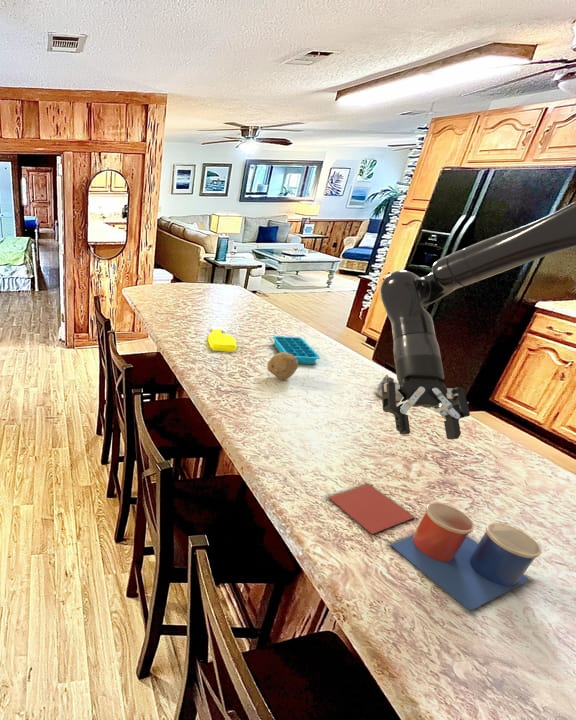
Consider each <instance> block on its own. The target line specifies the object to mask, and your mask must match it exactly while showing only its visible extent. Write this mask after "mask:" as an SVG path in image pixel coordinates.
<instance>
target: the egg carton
mask: <svg viewBox="0 0 576 720" xmlns="http://www.w3.org/2000/svg"><path fill="white" fill-rule="evenodd" d="M391 381H392V382H394V383H395V384H399V382H398V381H395V379H394V378H393V377H392V376H389V374H385V376H384V377H383V379H381V381H380V382H379V383H378V386H377V392H376V396H377V395H378V397H381V398H382V385H384V384H386V383H388V382H391ZM402 398H403V396H402V395H401V394H400V393H399V392H398V391H397V393H396V402H400V401H401V399H402Z"/></svg>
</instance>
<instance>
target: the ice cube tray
mask: <svg viewBox="0 0 576 720" xmlns="http://www.w3.org/2000/svg"><path fill="white" fill-rule="evenodd" d="M272 339H273V340H274V343H273V345H274V347H275V348H276V350H278V353H280V352H287V353H290V354H292V355H293V356H294V357H295V358H296V359H297V361H298V365H299V364H300V365H301V364H302V365H315V364H316V362H317V360H319V359H320V358H321V356H320V354H318V353H317V352H316V351H315V350H314V349H313V348H312V347H311V346H310V345H309V344H308V342H306V340H305V339H304V338H303V337H299V336H277V335H275V336H272Z"/></svg>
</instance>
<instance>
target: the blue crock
mask: <svg viewBox="0 0 576 720" xmlns="http://www.w3.org/2000/svg"><path fill="white" fill-rule="evenodd" d="M477 543H478V545H477V547H476V548H475V550H474V551H473V553H472V555H471V556H470V559H469V560H470V563H471V565H472V567H473V568H474V569H475V570H476V571H477V572H478V573H479V574H481V575H482V576H483V577H485V578H486V579H488V580H490V581H492V582H494V583H496V584H499V585H503V586H514V585H516V583H517V582H518V581H519V579H520V578H521V577H522V575H525V572H526V571H527V570H528V569H529V567H530V566H531V564H532V563H533V562H534V560H536V558H539V557H540V556H541V554H542V552H543V551H542V547H541V546H540V544H539V543H538V542H537V541H536V540H535V539H534V538H533V537H531V536H530V535H529V534H528V533H526V532H524V531H523V530H521V529H519V528H516V527H515V526H512V525H509V524H506V523H501V522H490V523H489V524H487V526H486V527H485V532H484V534H483V536H481V538H480V540H479V542H477Z"/></svg>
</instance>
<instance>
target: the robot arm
mask: <svg viewBox="0 0 576 720" xmlns="http://www.w3.org/2000/svg"><path fill="white" fill-rule="evenodd" d="M572 248H573V249H574V248H576V201H574V202H572V203H570V204H568V205H566V206H565V207H563V208H561V209H559V210H557V211H555V212H554V213H551V214H549V215H546V216H544V217H542V218H540V219H538V220H536V221H533V222H531V223H528V224H526V225H522V226H520V227H518V228H515V229H512V230H510V231H507V232H503V233H501V234H497V235H495V236H492V237H489V238H486V239H483V240H481V241H478V242H476V243H474V244H471V245H469V246H467V247H464V248H462V249H460V250H457V251H455V252H453V253H450V254H448V255H446V256H443V257H441V258H439V259H437V260H436V261H435V262H434V263H433V264H432V267H431V272H430V273H429V274H427V275H425V276H424V275H423V276H419V275H417V274H416V273H414V272H411V271H409V270H404V269H403V270H395V271H393V272H391V273H389V274H388V275H386V276H385V278H384V279H383V281H382V283H381V285H380V293H379V294H380V299H381V302H382V305H383V307H384V310H385V312H386V315H387V317H388V319H389V321H390V324H391V332H392V340H393V349H392V351H393V360H394V366H395V373H396V380H397V383H398V382H399V384H395V383H394V382H395V381H394V382H392V381H391V382H388V383H386V384H384V385H382V397H381V399H382V401H381V402H382V411H383V412H384V413H389V414H392V415H393V417H394V422H395V430H396V431H397V432H398V433H399V435H401V436H402V435H403V436H405V435H409V434H410V433H411V427H410V420H409V414H407V413H408V411H409V410H410V409H411V408H412V407H413V408H418V407H422V408H425V409H432V410H433V411H434V412H436V413H438V414H439V415H440V416H441V417H442V418H443V419H444V421H443V423H444V430H445V436H446V439H447V440H458V439H459V438H460V437H461V436H462V435H461V434H462V431H461V425H460V419H463V418H467V417H470V415H471V412H470V409H469V406H468V401H467V397H466V393H465V390H464V388H463V387H462V386H458V387H455V388H454V387H453V388H451V387H449V388H448V387H447V386H446V385H445V384H444V380H445V374H444V367H443V361H442V357H441V356H442V355H441V350H440V345H439V342H438V340H437V336H436V335H437V334H436V330H435V325H434V320H433V317H432V315H431V314H430V312H428V311H427V310H426V309H425V308H424V307H427V306H429V305H432V304H433V303H435V302H437V301H439V300H441V299H443V298H444V297H446V296H448V295H449V294H451V293H453V292H454V291H455V290H458V289H460V288H463V287H466V286H469V285H471V284H474V283H477V282H480V281H482V280H485V279H487V278H491V277H493V276H495V275H498V274H502V273H504V272H506V271H509V270H511V269H514V268H516V267H520V266H522V265H525V264H527V263H530V262H533V261H535V260H539V259H541V258H544V257H547V256H549V255H553V254H555V253H559V252H562V251H566V250H569V249H572ZM397 391H398V392H399V393H400V394H401V395H402V396H403V398H402V399H401V401H398V403H397V401H396V393H397Z"/></svg>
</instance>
